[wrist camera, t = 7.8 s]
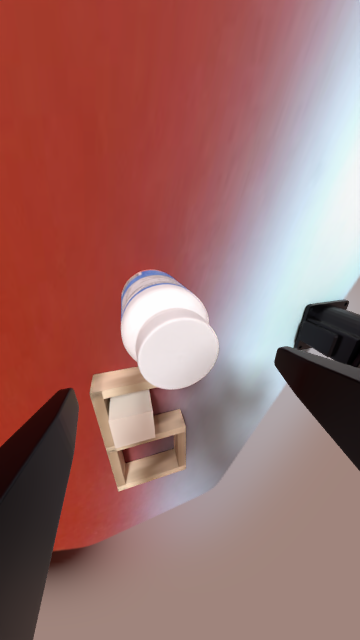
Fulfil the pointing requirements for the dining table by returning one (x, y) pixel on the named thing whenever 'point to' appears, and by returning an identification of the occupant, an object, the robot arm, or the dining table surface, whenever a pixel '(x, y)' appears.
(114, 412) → the cream block
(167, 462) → the caddy
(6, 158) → the dining table surface
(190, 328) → the pill bottle
